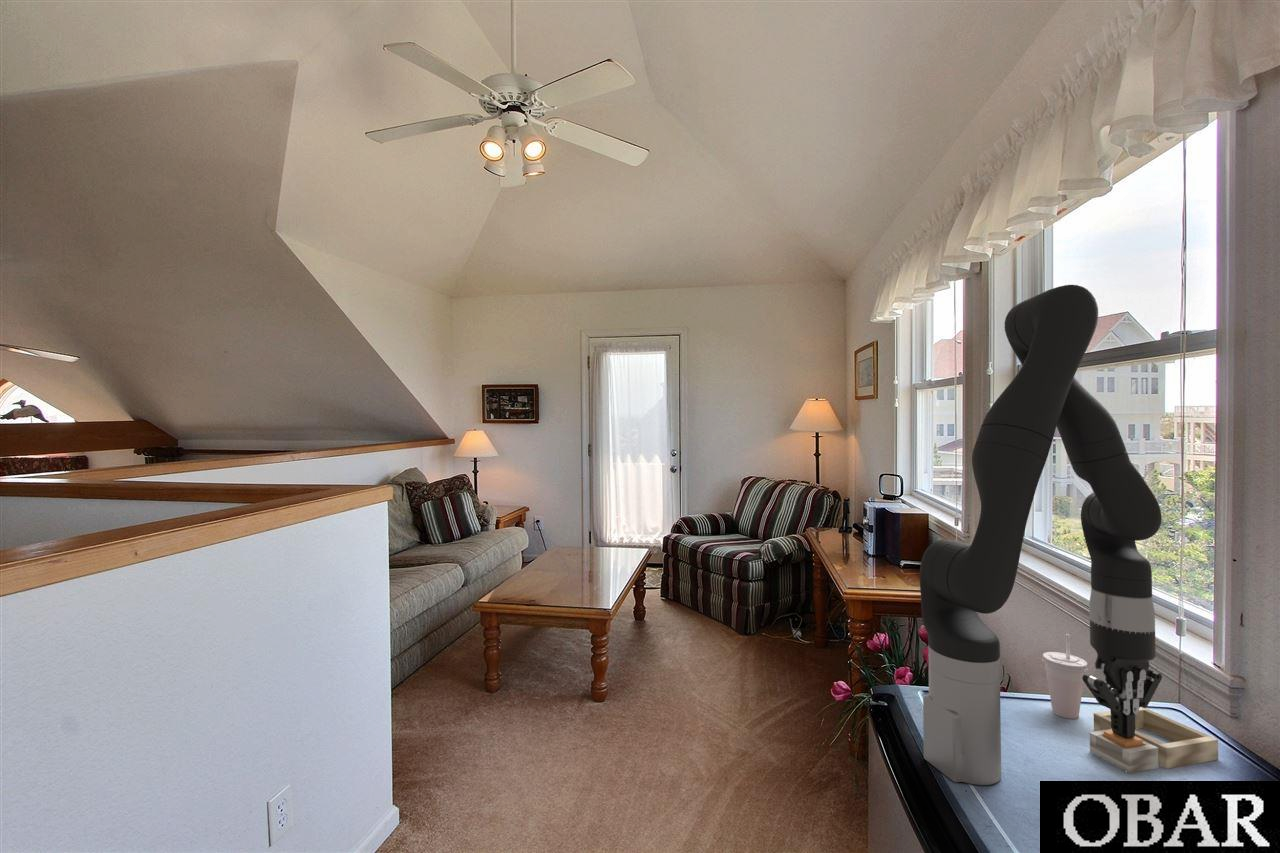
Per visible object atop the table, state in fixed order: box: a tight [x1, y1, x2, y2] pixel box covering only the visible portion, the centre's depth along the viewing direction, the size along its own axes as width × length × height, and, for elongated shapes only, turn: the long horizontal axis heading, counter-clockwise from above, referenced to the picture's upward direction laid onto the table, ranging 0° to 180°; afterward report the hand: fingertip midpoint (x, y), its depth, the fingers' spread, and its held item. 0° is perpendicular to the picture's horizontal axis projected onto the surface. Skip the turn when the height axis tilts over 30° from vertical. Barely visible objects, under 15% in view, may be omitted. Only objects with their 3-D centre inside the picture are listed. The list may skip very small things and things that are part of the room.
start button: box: [1104, 730, 1143, 748], centre depth 83 cm, size 3×3×2 cm
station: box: [1089, 707, 1219, 774], centre depth 86 cm, size 17×10×3 cm, turn 103°
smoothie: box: [1042, 633, 1089, 720], centre depth 97 cm, size 6×6×14 cm
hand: (1123, 735), depth 83 cm, fingers closed
